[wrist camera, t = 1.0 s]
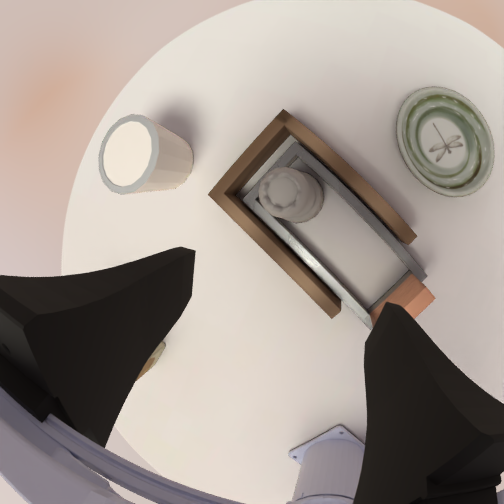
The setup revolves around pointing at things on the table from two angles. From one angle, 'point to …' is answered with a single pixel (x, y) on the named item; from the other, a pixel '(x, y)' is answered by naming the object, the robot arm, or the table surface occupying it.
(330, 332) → the table surface
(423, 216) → the table surface
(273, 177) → the rook chess piece
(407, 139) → the saucer
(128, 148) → the shot glass
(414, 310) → the frame
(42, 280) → the robot arm
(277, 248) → the walnut lane
